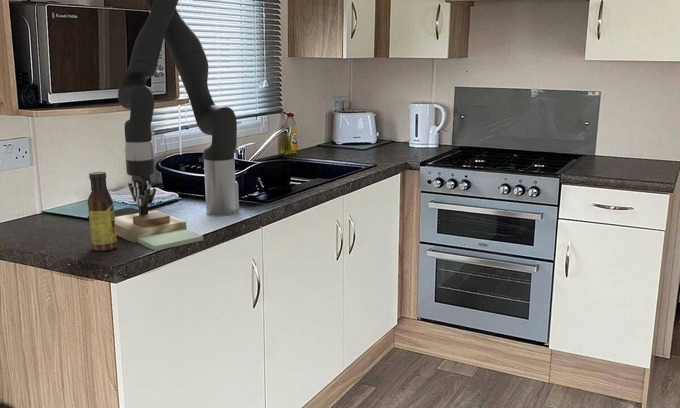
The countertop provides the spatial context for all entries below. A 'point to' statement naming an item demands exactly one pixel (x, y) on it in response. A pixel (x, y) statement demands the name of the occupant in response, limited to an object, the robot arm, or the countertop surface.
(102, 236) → the sauce bottle
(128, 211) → the phone
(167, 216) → the brown wooden block
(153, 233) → the butcher block
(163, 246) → the sage mat
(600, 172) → the countertop surface
